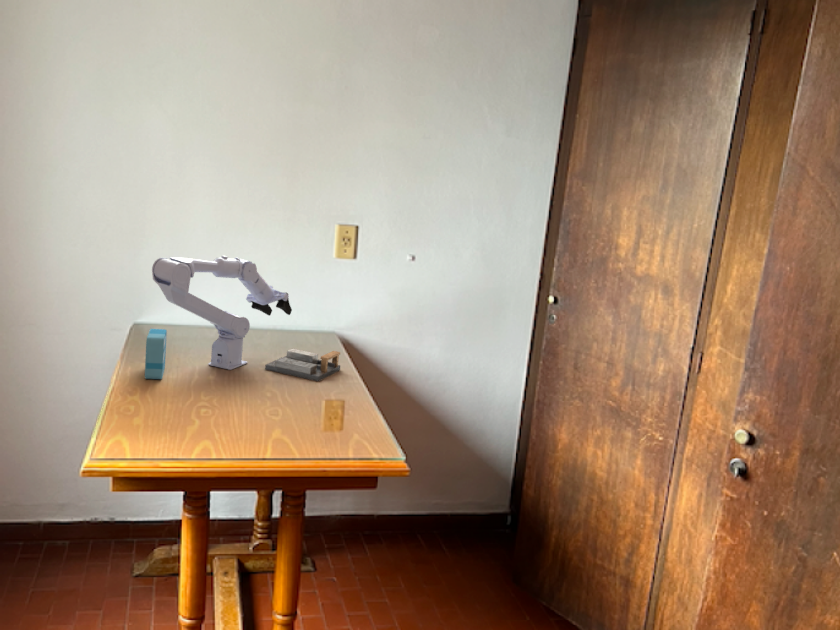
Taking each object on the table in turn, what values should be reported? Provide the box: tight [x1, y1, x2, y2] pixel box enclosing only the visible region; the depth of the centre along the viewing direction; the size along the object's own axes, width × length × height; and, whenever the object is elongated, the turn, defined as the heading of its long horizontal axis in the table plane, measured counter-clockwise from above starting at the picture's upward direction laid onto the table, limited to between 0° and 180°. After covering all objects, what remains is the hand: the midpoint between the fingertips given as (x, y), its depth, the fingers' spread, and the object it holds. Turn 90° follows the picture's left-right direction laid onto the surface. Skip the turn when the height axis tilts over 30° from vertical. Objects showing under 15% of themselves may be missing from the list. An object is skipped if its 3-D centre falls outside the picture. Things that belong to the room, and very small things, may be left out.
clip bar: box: [286, 348, 319, 364], centre depth 243 cm, size 4×9×3 cm, turn 70°
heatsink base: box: [264, 350, 341, 382], centre depth 240 cm, size 15×18×6 cm
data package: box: [144, 328, 168, 380], centre depth 219 cm, size 12×4×12 cm, turn 14°
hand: (280, 312), depth 251 cm, fingers open, 7 cm apart
